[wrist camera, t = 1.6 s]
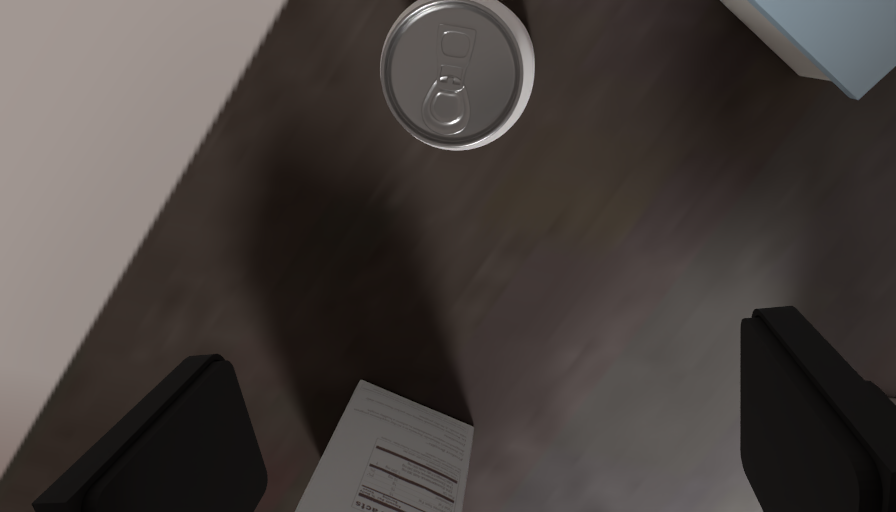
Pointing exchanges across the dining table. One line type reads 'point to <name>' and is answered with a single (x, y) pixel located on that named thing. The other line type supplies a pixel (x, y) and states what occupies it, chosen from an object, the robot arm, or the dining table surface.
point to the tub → (774, 39)
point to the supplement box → (391, 458)
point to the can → (457, 71)
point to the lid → (839, 37)
